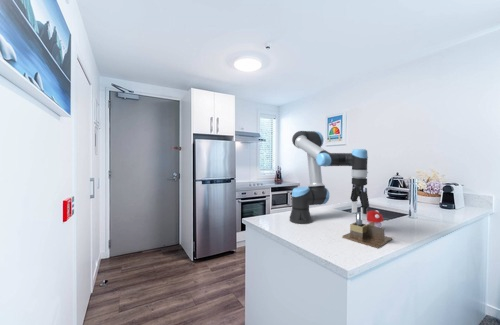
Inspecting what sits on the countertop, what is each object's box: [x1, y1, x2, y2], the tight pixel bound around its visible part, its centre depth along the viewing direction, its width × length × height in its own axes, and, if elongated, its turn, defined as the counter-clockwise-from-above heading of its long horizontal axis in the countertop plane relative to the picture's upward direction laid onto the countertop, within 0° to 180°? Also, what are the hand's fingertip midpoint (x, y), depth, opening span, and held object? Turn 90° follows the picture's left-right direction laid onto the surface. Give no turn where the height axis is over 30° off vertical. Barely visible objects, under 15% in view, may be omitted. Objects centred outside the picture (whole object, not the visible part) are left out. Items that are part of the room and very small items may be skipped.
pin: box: [355, 211, 363, 227], centre depth 117 cm, size 3×3×13 cm
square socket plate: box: [341, 221, 393, 249], centre depth 116 cm, size 18×18×8 cm
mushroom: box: [365, 209, 385, 228], centre depth 130 cm, size 11×11×12 cm
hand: (358, 216), depth 117 cm, fingers open, 13 cm apart
